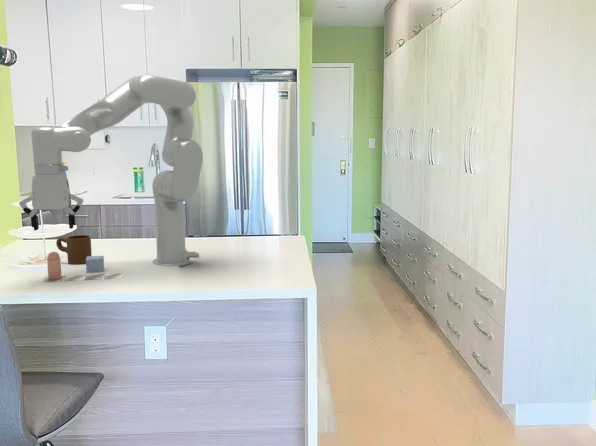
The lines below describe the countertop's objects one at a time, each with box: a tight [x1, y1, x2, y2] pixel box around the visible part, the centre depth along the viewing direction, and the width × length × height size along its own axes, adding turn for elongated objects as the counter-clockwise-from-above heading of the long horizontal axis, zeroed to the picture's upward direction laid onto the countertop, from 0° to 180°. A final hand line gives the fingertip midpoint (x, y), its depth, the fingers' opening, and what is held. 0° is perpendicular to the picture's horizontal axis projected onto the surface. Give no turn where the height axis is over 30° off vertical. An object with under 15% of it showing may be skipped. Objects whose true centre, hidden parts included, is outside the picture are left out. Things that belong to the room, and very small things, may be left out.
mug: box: [55, 234, 93, 266], centre depth 189 cm, size 12×8×9 cm, turn 80°
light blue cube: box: [85, 255, 105, 274], centre depth 178 cm, size 5×5×5 cm
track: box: [43, 272, 123, 283], centre depth 170 cm, size 22×7×1 cm, turn 104°
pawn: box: [46, 251, 62, 280], centre depth 167 cm, size 4×4×8 cm
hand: (54, 228), depth 165 cm, fingers open, 9 cm apart
